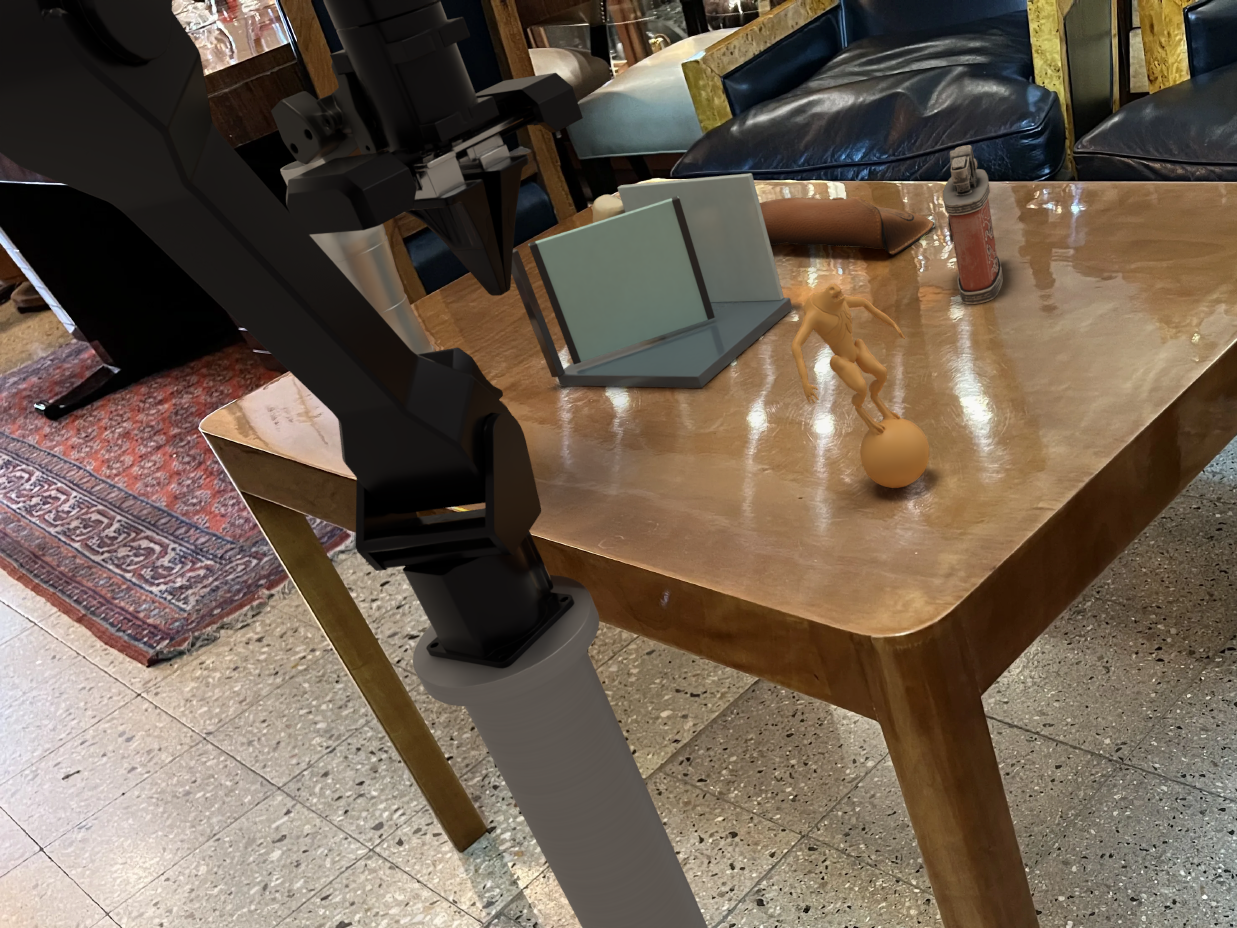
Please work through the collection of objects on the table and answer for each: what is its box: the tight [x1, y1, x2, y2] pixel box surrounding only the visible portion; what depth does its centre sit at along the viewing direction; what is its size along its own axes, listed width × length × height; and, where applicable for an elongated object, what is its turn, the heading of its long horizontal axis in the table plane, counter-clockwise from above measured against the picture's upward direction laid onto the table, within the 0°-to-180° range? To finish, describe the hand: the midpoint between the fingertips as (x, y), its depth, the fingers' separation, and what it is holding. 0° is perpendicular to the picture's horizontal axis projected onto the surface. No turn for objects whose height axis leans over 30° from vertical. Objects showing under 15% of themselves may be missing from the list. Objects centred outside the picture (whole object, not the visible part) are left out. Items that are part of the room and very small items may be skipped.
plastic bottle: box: [280, 158, 437, 354], centre depth 91 cm, size 6×7×20 cm
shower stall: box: [511, 173, 793, 389], centre depth 92 cm, size 14×14×11 cm
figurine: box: [790, 282, 930, 489], centre depth 66 cm, size 8×6×12 cm
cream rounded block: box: [592, 194, 625, 223], centre depth 109 cm, size 6×5×8 cm
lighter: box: [942, 144, 1004, 305], centre depth 89 cm, size 8×3×10 cm, turn 172°
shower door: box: [528, 196, 715, 365], centre depth 92 cm, size 1×12×10 cm, turn 107°
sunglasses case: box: [759, 196, 935, 256], centre depth 107 cm, size 18×7×7 cm, turn 52°
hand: (500, 293), depth 72 cm, fingers closed
